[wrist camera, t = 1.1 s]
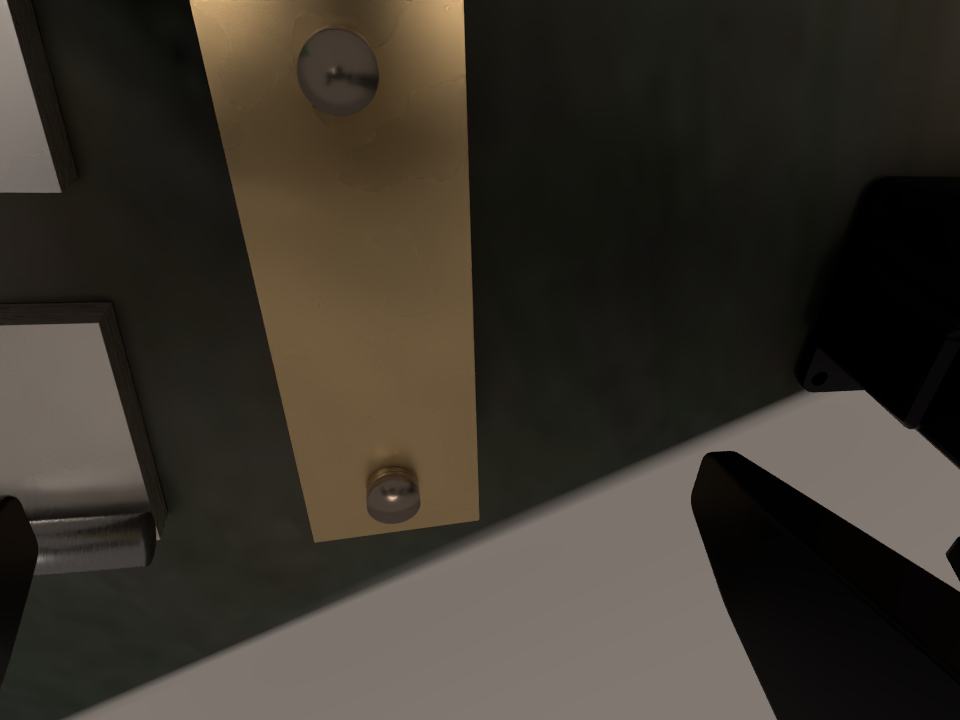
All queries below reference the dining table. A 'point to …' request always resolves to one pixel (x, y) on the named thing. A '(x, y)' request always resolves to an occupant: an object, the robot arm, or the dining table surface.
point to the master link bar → (357, 244)
